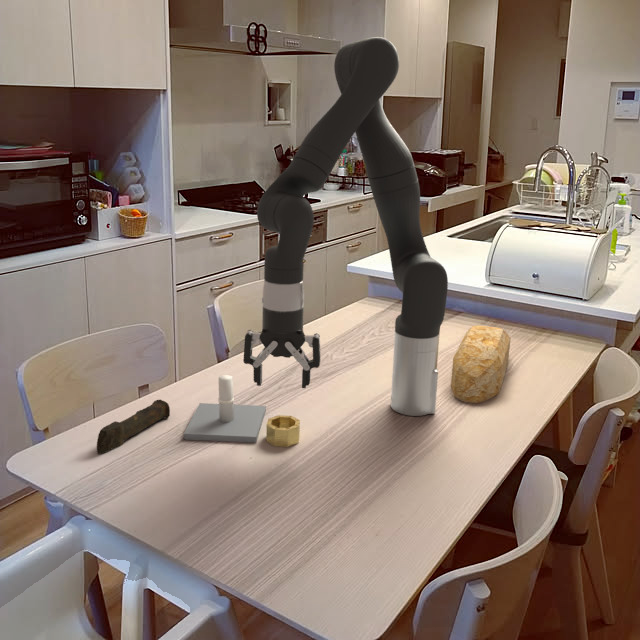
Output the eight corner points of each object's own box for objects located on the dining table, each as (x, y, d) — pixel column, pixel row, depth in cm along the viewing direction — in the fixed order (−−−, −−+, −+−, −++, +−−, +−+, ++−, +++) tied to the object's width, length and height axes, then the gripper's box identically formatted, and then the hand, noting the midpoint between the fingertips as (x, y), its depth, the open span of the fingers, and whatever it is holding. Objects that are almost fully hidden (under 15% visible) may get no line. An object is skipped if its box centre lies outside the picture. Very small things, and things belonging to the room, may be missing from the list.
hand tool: (156, 414, 147) (155, 394, 146) (171, 418, 145) (170, 398, 144) (87, 452, 131) (85, 430, 130) (103, 458, 130) (101, 435, 128)
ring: (300, 432, 140) (300, 416, 139) (297, 447, 134) (298, 430, 133) (269, 430, 141) (269, 414, 139) (265, 445, 135) (265, 429, 134)
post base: (265, 411, 149) (265, 366, 146) (256, 442, 136) (255, 393, 133) (200, 408, 150) (198, 363, 147) (184, 439, 136) (181, 390, 133)
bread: (494, 407, 154) (499, 364, 151) (444, 399, 157) (448, 357, 154) (511, 353, 186) (515, 317, 183) (469, 347, 189) (472, 312, 186)
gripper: (323, 299, 132) (320, 380, 137) (247, 296, 133) (247, 375, 138) (320, 311, 125) (317, 395, 130) (240, 307, 126) (240, 391, 131)
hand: (281, 385), depth 134 cm, fingers open, 8 cm apart
